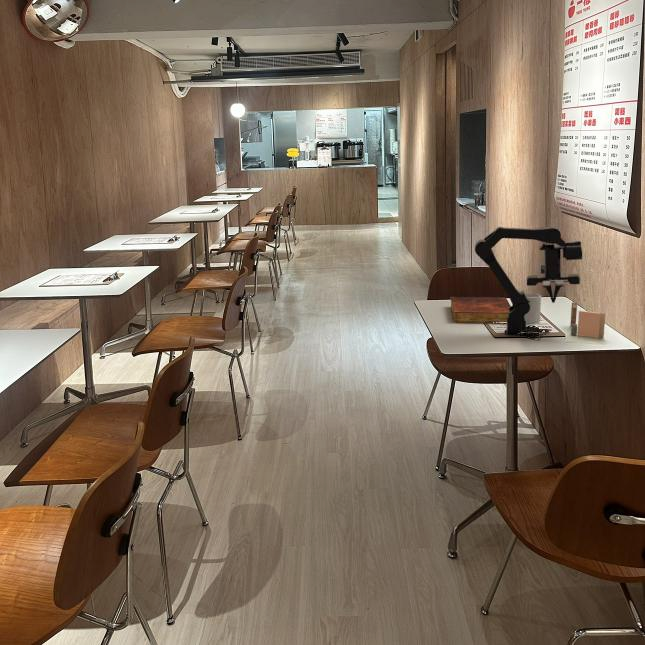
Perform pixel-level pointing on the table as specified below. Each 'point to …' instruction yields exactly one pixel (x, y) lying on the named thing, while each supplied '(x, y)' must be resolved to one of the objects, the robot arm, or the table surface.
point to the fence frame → (573, 319)
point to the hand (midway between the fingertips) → (553, 302)
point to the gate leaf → (591, 324)
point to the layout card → (581, 338)
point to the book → (479, 309)
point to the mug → (533, 308)
